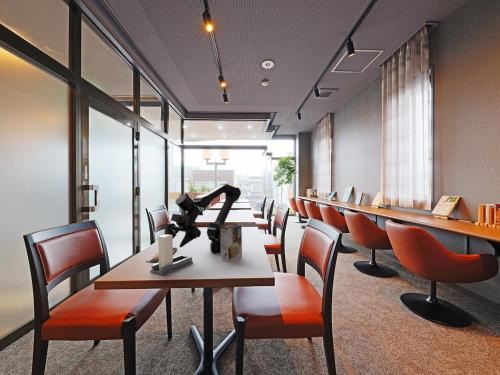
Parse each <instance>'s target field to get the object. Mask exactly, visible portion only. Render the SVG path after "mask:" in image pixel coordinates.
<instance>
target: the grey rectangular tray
mask: <svg viewBox="0 0 500 375" xmlns="http://www.w3.org/2000/svg"><path fill="white" fill-rule="evenodd" d="M191 265H194V261H193V256H188V255H186V254H180V255H176V256H173V263H172V264H169V265H167V266H164V267H161V269H159V262H155V263H154V264H151V268H150V273H153V274H157V275H161V276H163V277H164V276H168V275H169V274H172V273H174V272H177V271H179V270H181V269H184V268H186V267H188V266H191Z"/></svg>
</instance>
